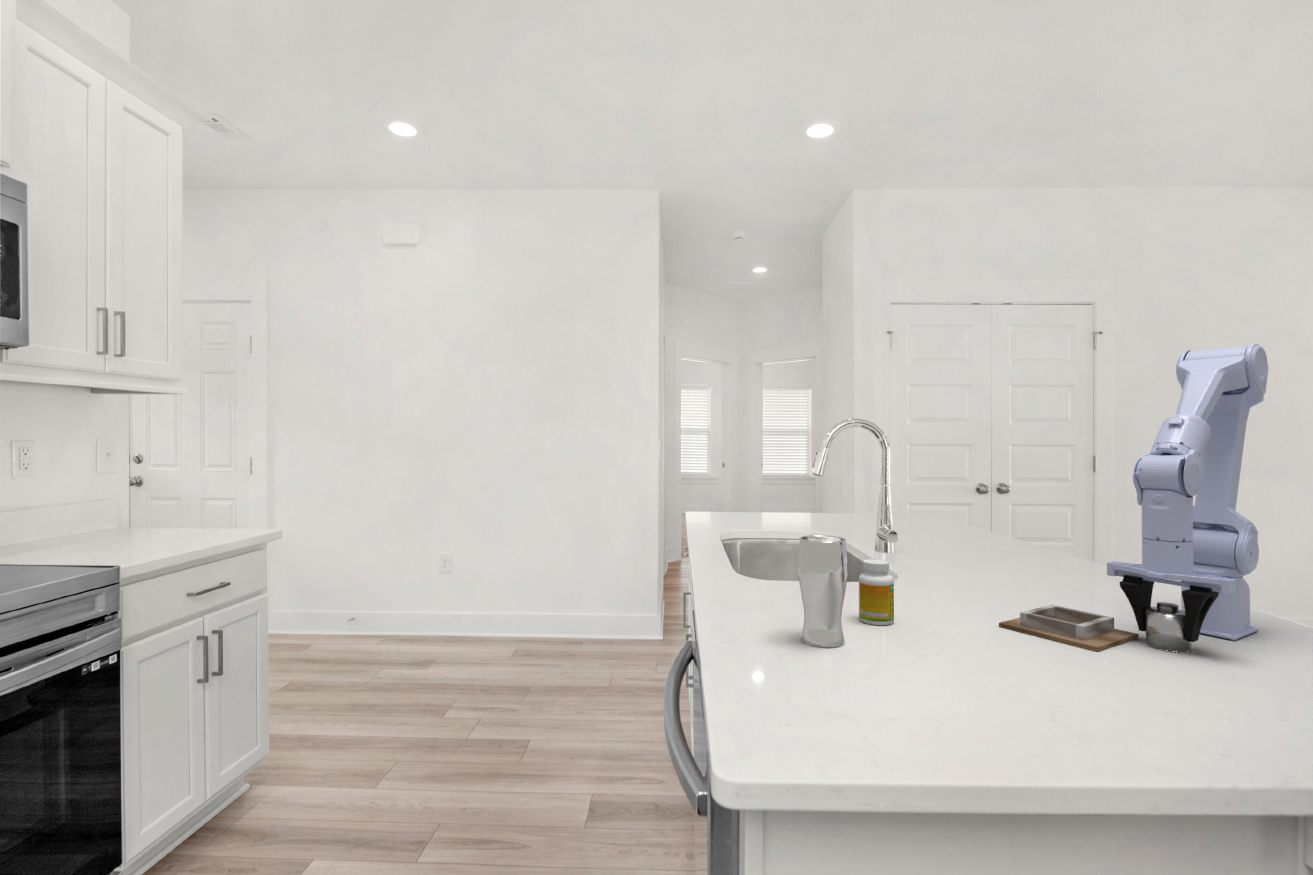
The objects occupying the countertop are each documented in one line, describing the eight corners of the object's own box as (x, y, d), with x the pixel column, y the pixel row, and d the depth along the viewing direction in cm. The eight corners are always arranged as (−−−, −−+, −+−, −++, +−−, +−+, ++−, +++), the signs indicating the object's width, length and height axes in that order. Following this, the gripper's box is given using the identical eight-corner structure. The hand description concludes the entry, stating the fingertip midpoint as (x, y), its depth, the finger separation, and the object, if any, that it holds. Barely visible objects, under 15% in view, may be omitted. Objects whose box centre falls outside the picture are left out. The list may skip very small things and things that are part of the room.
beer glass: (794, 645, 91) (794, 540, 91) (802, 631, 98) (802, 533, 98) (845, 651, 89) (844, 543, 89) (849, 637, 95) (849, 536, 95)
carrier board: (1041, 615, 106) (1040, 600, 106) (1138, 637, 94) (1138, 620, 94) (998, 626, 100) (998, 610, 100) (1097, 651, 88) (1097, 632, 88)
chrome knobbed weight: (1155, 639, 94) (1154, 598, 94) (1197, 648, 90) (1196, 605, 90) (1139, 644, 91) (1138, 602, 91) (1181, 654, 87) (1181, 610, 87)
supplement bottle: (896, 627, 100) (896, 565, 100) (860, 625, 101) (860, 563, 101) (891, 617, 106) (890, 558, 106) (857, 616, 107) (857, 557, 107)
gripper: (1096, 534, 95) (1096, 626, 95) (1220, 548, 82) (1221, 654, 82) (1119, 531, 98) (1120, 619, 98) (1241, 544, 86) (1242, 645, 86)
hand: (1167, 635), depth 91 cm, fingers closed on chrome knobbed weight, 5 cm apart
